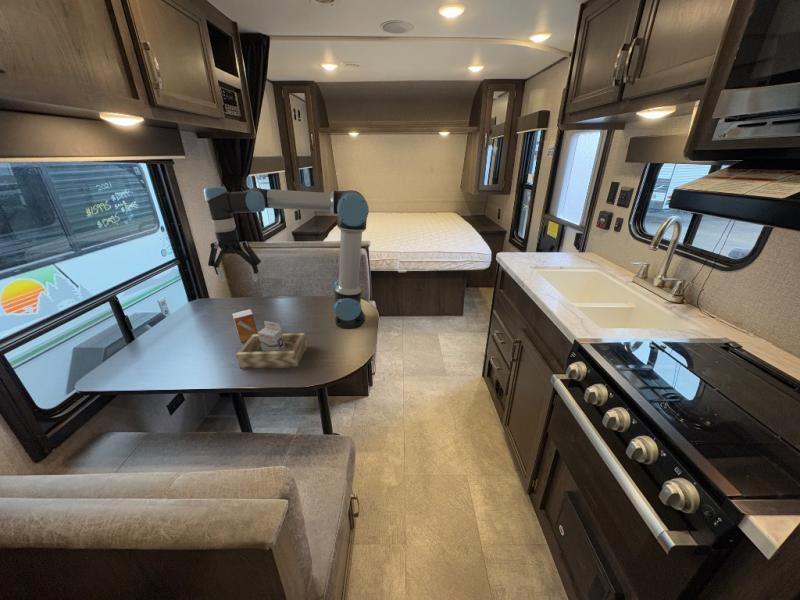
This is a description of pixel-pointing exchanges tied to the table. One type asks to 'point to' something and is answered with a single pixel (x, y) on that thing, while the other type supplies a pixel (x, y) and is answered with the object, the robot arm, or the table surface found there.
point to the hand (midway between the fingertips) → (239, 281)
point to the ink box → (271, 337)
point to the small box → (245, 324)
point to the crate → (272, 353)
